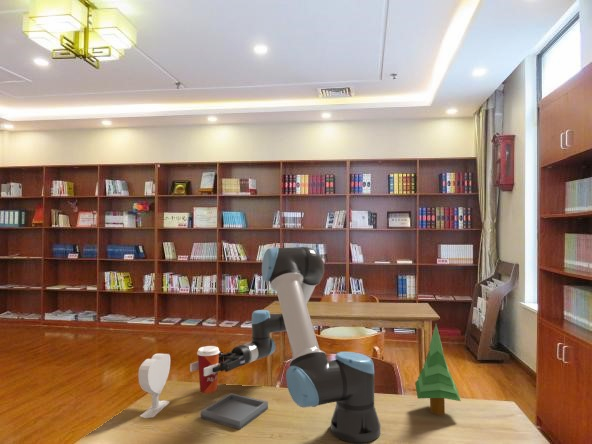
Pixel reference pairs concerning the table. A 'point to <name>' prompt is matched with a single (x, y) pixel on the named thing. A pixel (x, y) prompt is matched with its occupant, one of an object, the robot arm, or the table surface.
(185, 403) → the table surface
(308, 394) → the robot arm
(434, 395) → the decorative tree
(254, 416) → the tray
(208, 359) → the coffee cup
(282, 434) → the table surface
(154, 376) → the heart sculpture
